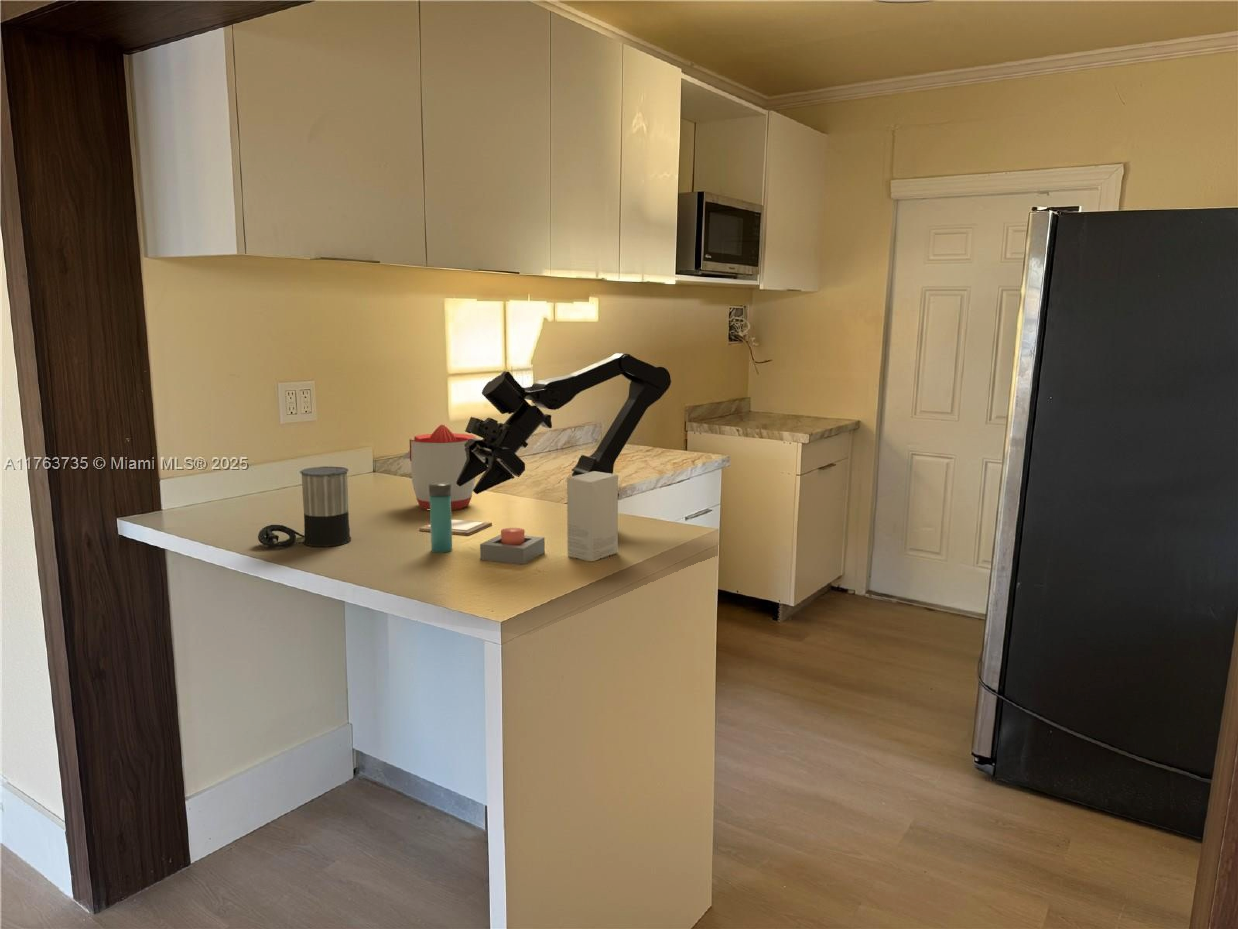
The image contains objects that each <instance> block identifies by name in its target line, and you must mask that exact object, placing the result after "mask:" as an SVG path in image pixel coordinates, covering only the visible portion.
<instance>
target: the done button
mask: <svg viewBox="0 0 1238 929" xmlns="http://www.w3.org/2000/svg"><path fill="white" fill-rule="evenodd" d="M500 534H501V544H509V545H519V546H520V545H521V544H523V543H525V541H524V535H525V529H524V528H520V527H507V528H503V529H501V530H500Z"/></svg>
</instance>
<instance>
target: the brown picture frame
mask: <svg viewBox="0 0 1238 929" xmlns="http://www.w3.org/2000/svg"><path fill="white" fill-rule="evenodd" d="M451 522H452V535H457V536H458V535H459V536H467V537H468V536H471V535H473V534H476V533H478V532H480V531H482V530H485V529H487V528H489V527H492V525H493V522H490V521H479V520H478V521H477V520H470V519H469V520H467V519H456V518H451ZM418 530H419V531H420V532H429V533H431V524H430V523H428V524H425V525H423V526H421V527H419V528H418Z"/></svg>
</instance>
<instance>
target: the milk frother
mask: <svg viewBox="0 0 1238 929" xmlns="http://www.w3.org/2000/svg"><path fill="white" fill-rule="evenodd" d="M348 472H349V469H348V468H347V467H342V466H332V465H331V466H324V465H323V466H314V467H313V466H312V467H309V468H304V469H301V470H300V471H299V474H301V486H302V487H301V488H302V501H303V503H302V504H303V522H304V525H303V527H304V530H303V531H304V535H303V534H301V533H299V532H297V531H296V530H294V529H292V528H290V527H288V526H286V525H282V524H270V525H267V526H264V527H263V528H261V530H259V532H258V535H257V540H258V542H259V543H260V544H261V545H264V546H266V547H268V548H284V547H285V548H286V547H289V546H292V545H293V544H294V543H295V542H296V539H297V536H299V537H301V538H303V541H302V542H303V544H304V545H306V546H308V547H309V546H310V547H315V548H317V547H318V548H319V547H322V548H325V547H336V546H340V545H344V544H347V543H349V542H351V541H352V537H351V533H350V532H351V529H350V520H349V518H350V517H349V515H350V514H349V489H348V487H349V486H348ZM274 532H280V533H284V534H286V535H287V536H289V538H287V539H286V540H283V541H279V537H280V536H279V535H278V534H275V533H274Z"/></svg>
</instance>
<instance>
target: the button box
mask: <svg viewBox="0 0 1238 929" xmlns="http://www.w3.org/2000/svg"><path fill="white" fill-rule="evenodd" d="M524 541H525V543H523V544H521V545H520V546H519V545H509V544H501V533H500V534H498V535H496V536H495V537H493V538H490V539H488V540H486V541H484V542H482V543H479V551H480V552H479V555H480V556H479V557H480V561H488V562H499V563H507V564H517V565H526V564H527V563H529V562H531V561H532V560H534V559H536V558H538V557H539V556H541V555H543V554H545V550H546V548H545V542H546V541H545V537H543V536H533V535H525V534H524Z"/></svg>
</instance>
